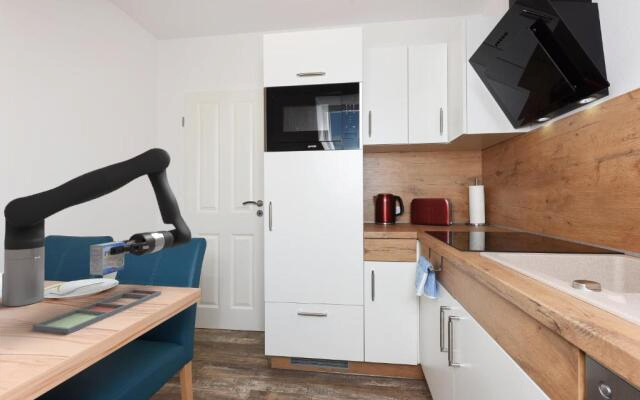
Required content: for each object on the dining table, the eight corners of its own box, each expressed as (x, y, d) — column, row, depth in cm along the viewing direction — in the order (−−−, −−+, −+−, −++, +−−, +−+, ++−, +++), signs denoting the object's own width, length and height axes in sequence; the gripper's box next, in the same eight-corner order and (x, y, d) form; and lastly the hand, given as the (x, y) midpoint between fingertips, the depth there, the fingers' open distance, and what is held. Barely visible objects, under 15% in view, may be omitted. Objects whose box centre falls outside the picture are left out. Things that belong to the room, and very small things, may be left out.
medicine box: (102, 275, 88) (102, 245, 88) (89, 274, 88) (89, 244, 88) (124, 269, 95) (125, 241, 95) (112, 268, 96) (112, 241, 96)
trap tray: (32, 329, 77) (32, 325, 77) (133, 292, 108) (133, 288, 108) (68, 334, 75) (68, 329, 75) (160, 294, 106) (160, 291, 106)
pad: (37, 329, 78) (37, 327, 78) (77, 313, 88) (77, 312, 88) (68, 332, 76) (68, 331, 76) (106, 316, 86) (106, 315, 86)
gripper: (129, 231, 109) (83, 237, 92) (165, 232, 106) (125, 239, 89) (129, 252, 109) (83, 262, 92) (165, 254, 106) (124, 265, 89)
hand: (104, 250), depth 91 cm, fingers closed on medicine box, 4 cm apart
